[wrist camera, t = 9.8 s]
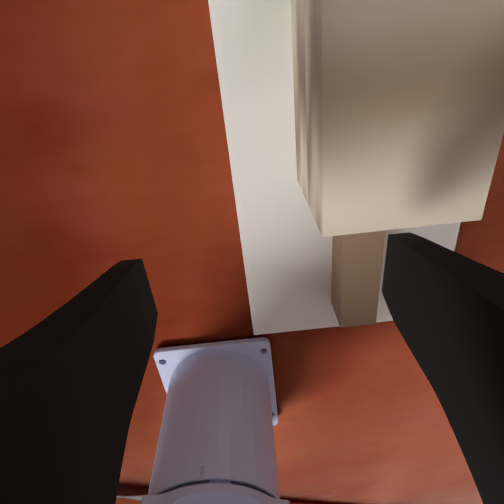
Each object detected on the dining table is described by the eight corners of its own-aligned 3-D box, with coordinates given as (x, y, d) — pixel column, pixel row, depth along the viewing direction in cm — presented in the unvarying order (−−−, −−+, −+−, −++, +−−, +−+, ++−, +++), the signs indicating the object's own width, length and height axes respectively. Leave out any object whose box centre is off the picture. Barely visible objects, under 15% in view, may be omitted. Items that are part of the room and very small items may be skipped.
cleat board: (432, 305, 24) (476, 364, 19) (253, 324, 24) (256, 387, 20) (517, -107, 13) (650, -175, 9) (200, -67, 14) (184, -115, 9)
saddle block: (409, 167, 18) (481, 220, 13) (296, 179, 18) (322, 237, 13) (436, -39, 14) (559, -86, 8) (289, -20, 14) (322, -56, 8)
